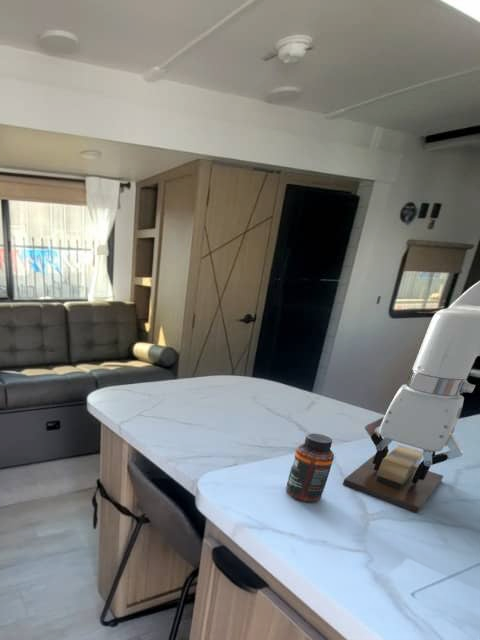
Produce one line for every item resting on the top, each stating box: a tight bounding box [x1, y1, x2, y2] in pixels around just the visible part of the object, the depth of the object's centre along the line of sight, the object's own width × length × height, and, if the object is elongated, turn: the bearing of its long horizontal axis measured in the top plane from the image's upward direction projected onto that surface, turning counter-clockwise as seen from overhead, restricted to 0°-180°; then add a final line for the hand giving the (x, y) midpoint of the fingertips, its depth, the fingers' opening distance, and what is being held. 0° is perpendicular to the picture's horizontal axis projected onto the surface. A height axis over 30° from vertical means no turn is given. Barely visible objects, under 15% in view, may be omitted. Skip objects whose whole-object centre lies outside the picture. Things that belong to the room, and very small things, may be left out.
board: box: [342, 453, 444, 514], centre depth 79 cm, size 18×12×1 cm, turn 131°
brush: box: [377, 444, 424, 488], centre depth 77 cm, size 10×4×5 cm, turn 131°
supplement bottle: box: [285, 432, 335, 503], centre depth 71 cm, size 6×6×11 cm
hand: (396, 473), depth 78 cm, fingers open, 5 cm apart
